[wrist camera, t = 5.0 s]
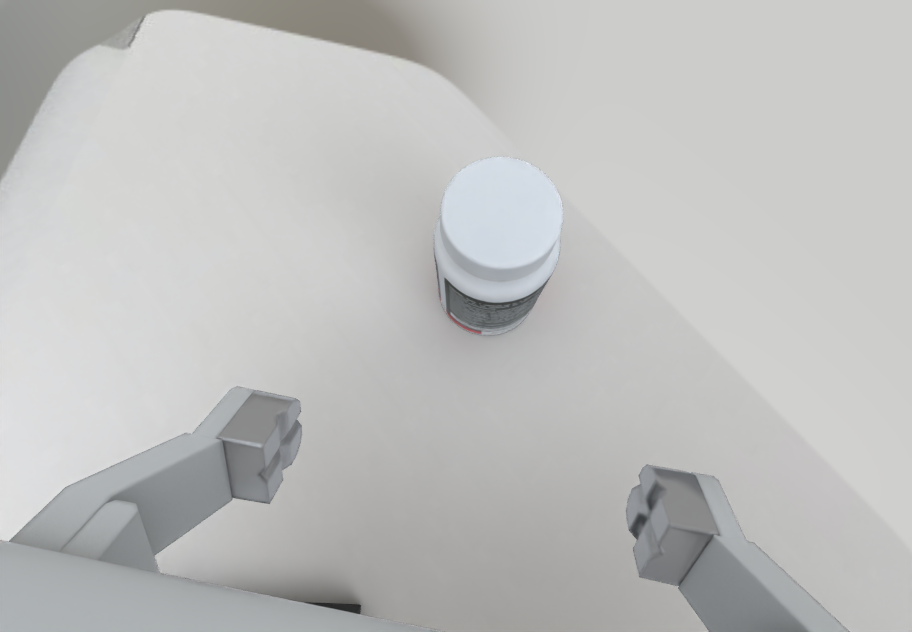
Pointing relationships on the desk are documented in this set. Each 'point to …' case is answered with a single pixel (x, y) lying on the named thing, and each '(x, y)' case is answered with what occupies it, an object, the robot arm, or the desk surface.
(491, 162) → the pill bottle
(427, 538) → the desk surface
